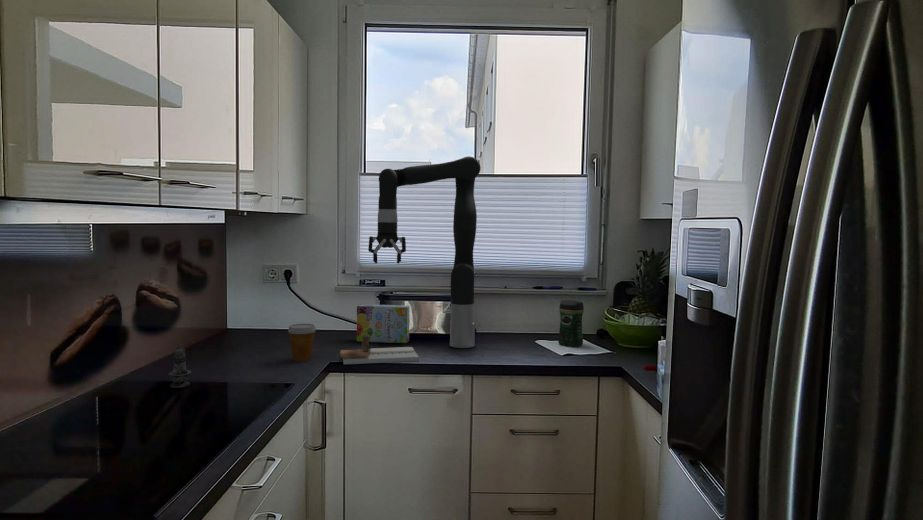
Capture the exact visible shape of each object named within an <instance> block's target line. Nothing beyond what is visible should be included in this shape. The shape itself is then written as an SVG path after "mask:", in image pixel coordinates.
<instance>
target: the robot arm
mask: <svg viewBox="0 0 923 520" xmlns="http://www.w3.org/2000/svg"><path fill="white" fill-rule="evenodd" d="M481 170H482V169H481V164H480V162H479V160H478V159H477V158H475V157H474V156H471V155H469V156H464V157H462V158H459V159H455V160H451V161H446V162H442V163H433V164H422V165H413V166H407V167H406V166H405V167H404V168H399V169H392V168H384V169H382V170H381V171H380V173H379V175H378V188H379V189H378V190H379V195H378V208H377V209H378V211H377V235H376V236H371V235H370V236H369V237H368V247H367V248H368V249H367V251H368V252H370V253H372V255H373V256H372V258H373V259H372V262H374V264H375V265H377V264H378V251H379V250H380V249H381V248H384V249H385V248H389V249H391V248H393V249H394V250H395V252H396V264H400V263H401V262H402V254H403V253H406V251H407V246H406V243H407V242H406V237H405V236H401V237H400V236H398V210H397V209H398V197H397V192H398V187H403V186H413V185H422V184H427V183H432V182H437V181H440V180H450V179H455V199H454V207H453V208H454V210H453V229H452V230H453V232H452V233H453V242H454V262H453V268H452V270H451V273H450V322H449V323H450V332H449V333H450V334H449V336H450V338H449V346H450V347H452V348H455V349H456V348H457V349H468V348H474V347H475V343H476V342H475V341H476V339H475V337H476V336H475V334H476V333H475V331H476V323H475V322H474V319H475V318H474V316H475V315H474V314H475V313H474V312H475V311H474V309H475V305H474V304H475V275H476V273H475V268H474V248H475V241H476V236H477V235H476V233H477V216H478V215H477V209H476V208H477V206H476V201H475V194H474V193H475V181H476V178H477V177H478V176H479V174H480V172H481ZM375 241H377V243H378V244H377V245H376V247H375V248H374V249H373V243H374V242H375ZM398 241H399V243H401V248H399V247H398V245H397V242H398Z"/></svg>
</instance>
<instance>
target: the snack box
mask: <svg viewBox="0 0 923 520" xmlns="http://www.w3.org/2000/svg"><path fill="white" fill-rule="evenodd" d="M366 334H368V336H369V343H387V344H389V343H392V344H407V343H408V342H409V341H410V305H397V304H396V305H394V304H359V305H357V306H356V342H361V343H362V335H366Z"/></svg>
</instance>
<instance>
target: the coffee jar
mask: <svg viewBox="0 0 923 520" xmlns="http://www.w3.org/2000/svg"><path fill="white" fill-rule="evenodd" d="M558 310H559V311H558V312H559V317H560V319H559V320H560V321H559V331H558V332H559V333H558V340H557V341H558V342H557V343H558V344H559V345H561V346H564V345H565V346H566V347H570V346H571V347H578V348H579V347H581V346H583V342H584V336H583V319H582V318H583V316H584V315H583V314H584V311H585V310H584V303H583V302H582V301H579V300H573V299H565V300H561V301H560V302H559V309H558Z"/></svg>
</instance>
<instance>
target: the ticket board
mask: <svg viewBox="0 0 923 520" xmlns="http://www.w3.org/2000/svg"><path fill="white" fill-rule="evenodd" d="M369 350H370V356H347V357H342V362H343V365H358V364H359V365H360V364H361V365H363V364H382V363H384V364H385V363H403V362H404V363H405V362H419V360H420V357H419V355H418V353H417V352H416V351H415V349H414V347H412V346H401V347H398V346H397V347H375V348H370V349H369Z"/></svg>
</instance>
